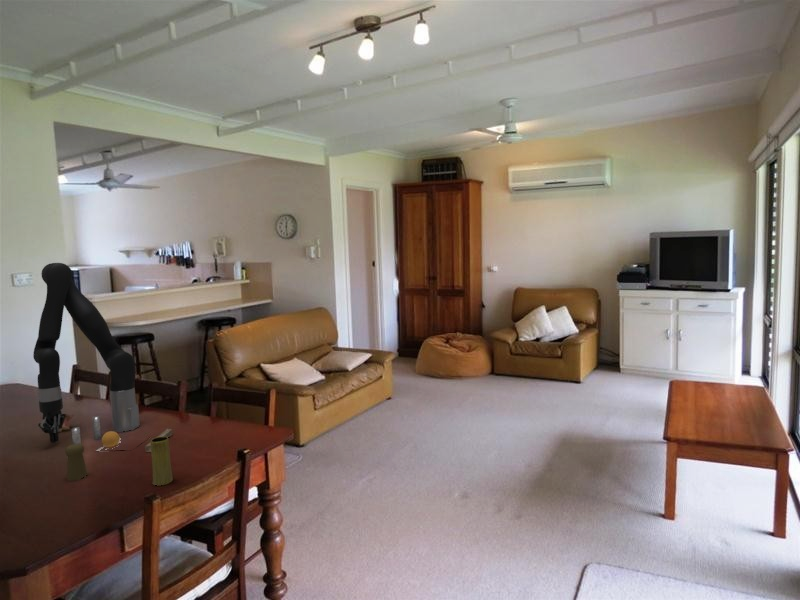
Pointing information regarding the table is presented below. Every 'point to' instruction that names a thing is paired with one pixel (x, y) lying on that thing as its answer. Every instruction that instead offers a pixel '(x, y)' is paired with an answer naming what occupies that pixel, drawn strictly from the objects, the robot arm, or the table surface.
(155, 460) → the vase
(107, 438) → the ball
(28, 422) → the table surface
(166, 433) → the stopper wall
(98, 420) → the right post
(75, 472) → the olive green pepper mill
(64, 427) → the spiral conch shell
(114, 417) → the robot arm
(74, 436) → the left post
